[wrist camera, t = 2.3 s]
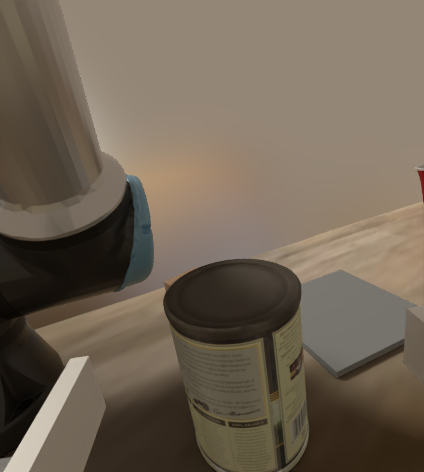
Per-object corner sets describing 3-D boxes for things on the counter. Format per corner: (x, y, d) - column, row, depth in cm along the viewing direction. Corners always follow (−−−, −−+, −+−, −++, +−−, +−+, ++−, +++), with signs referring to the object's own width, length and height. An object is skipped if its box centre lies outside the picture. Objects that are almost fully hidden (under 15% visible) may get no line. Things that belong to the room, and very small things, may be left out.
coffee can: (204, 377, 33) (181, 262, 28) (301, 378, 31) (293, 253, 26) (182, 481, 23) (141, 332, 19) (319, 491, 21) (312, 327, 17)
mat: (256, 305, 45) (256, 300, 44) (340, 274, 50) (340, 269, 49) (336, 378, 30) (336, 372, 30) (443, 324, 35) (444, 318, 35)
